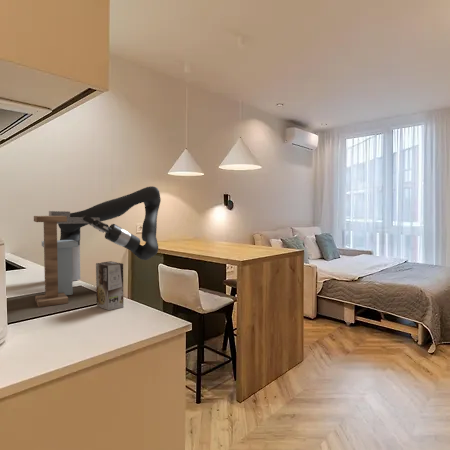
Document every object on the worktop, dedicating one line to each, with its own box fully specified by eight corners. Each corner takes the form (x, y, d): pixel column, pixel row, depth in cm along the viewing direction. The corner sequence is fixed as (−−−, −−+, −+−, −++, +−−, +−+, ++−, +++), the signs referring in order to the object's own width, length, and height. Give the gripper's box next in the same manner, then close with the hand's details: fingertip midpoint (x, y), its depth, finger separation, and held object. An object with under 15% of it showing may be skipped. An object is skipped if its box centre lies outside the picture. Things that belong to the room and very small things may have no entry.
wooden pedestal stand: (35, 300, 134) (33, 215, 133) (63, 297, 140) (62, 215, 138) (38, 307, 126) (36, 216, 125) (68, 303, 132) (66, 216, 130)
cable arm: (48, 223, 145) (48, 211, 145) (96, 222, 156) (96, 211, 156) (51, 223, 140) (51, 211, 139) (101, 223, 151) (101, 212, 150)
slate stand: (42, 292, 147) (41, 241, 146) (72, 289, 154) (72, 239, 153) (46, 298, 138) (45, 243, 136) (78, 294, 144) (77, 242, 143)
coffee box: (124, 307, 127) (124, 263, 126) (108, 310, 122) (107, 265, 122) (111, 302, 133) (111, 260, 133) (95, 305, 129) (95, 262, 128)
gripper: (117, 227, 165) (83, 209, 156) (127, 229, 154) (91, 209, 145) (109, 241, 163) (75, 224, 154) (118, 244, 152) (82, 225, 143)
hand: (83, 217), depth 150 cm, fingers closed on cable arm, 3 cm apart
